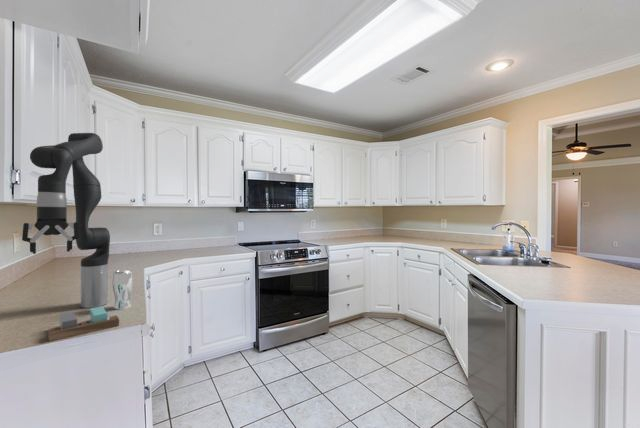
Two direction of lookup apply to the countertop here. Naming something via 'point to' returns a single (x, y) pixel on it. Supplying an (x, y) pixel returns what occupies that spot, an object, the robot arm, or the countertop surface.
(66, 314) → the charcoal plug
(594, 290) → the countertop surface
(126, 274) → the beer glass
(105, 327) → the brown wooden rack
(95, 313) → the teal plug
